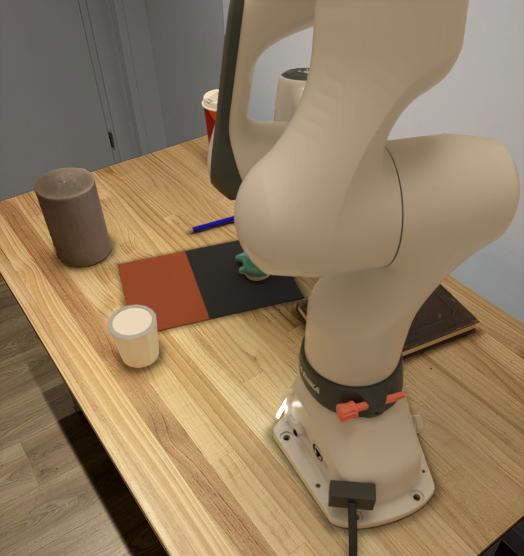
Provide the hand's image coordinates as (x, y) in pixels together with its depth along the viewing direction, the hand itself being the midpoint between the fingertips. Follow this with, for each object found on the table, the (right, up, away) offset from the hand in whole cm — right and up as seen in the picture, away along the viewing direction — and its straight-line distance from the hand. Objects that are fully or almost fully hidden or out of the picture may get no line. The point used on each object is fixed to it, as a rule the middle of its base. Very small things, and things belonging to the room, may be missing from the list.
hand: (297, 250), depth 95 cm
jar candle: (-24, -18, -12) cm, 32 cm away
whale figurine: (-8, -4, 0) cm, 8 cm away
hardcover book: (+13, -13, -8) cm, 20 cm away
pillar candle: (-38, +1, +4) cm, 38 cm away
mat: (-15, -5, -1) cm, 16 cm away
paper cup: (-14, +24, +25) cm, 37 cm away
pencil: (-12, +7, +10) cm, 17 cm away
